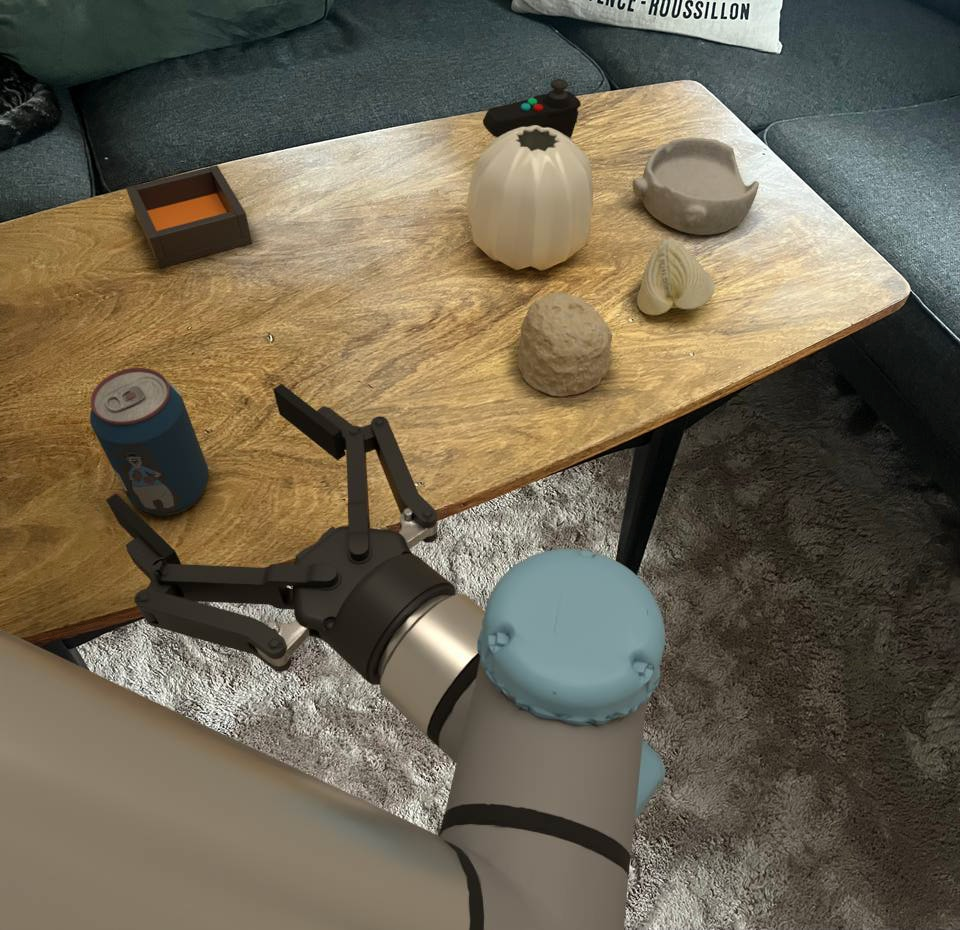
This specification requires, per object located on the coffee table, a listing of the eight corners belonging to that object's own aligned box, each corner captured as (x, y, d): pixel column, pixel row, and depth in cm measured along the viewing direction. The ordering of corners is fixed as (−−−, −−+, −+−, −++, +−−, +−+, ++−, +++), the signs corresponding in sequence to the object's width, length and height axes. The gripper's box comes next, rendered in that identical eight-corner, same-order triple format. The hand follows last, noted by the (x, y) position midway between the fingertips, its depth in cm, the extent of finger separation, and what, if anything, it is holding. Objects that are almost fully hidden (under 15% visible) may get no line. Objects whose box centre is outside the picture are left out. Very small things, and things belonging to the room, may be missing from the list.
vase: (525, 302, 89) (535, 192, 78) (442, 241, 95) (442, 131, 85) (613, 252, 95) (633, 143, 84) (529, 197, 101) (538, 90, 91)
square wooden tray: (159, 268, 91) (149, 238, 88) (136, 217, 96) (125, 187, 93) (252, 243, 94) (245, 212, 91) (224, 195, 100) (217, 164, 97)
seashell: (627, 311, 85) (625, 237, 86) (646, 334, 93) (643, 266, 94) (709, 299, 82) (705, 223, 83) (720, 325, 89) (717, 254, 91)
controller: (578, 162, 106) (588, 86, 98) (492, 184, 103) (496, 107, 95) (562, 146, 109) (570, 70, 101) (477, 167, 105) (479, 90, 97)
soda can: (192, 446, 75) (155, 349, 66) (225, 496, 72) (192, 402, 62) (117, 481, 72) (68, 385, 63) (148, 535, 69) (101, 442, 60)
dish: (699, 162, 107) (709, 125, 103) (774, 217, 100) (788, 181, 96) (609, 193, 102) (616, 155, 98) (682, 254, 95) (692, 216, 91)
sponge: (569, 361, 89) (532, 278, 85) (643, 355, 82) (606, 264, 78) (521, 411, 84) (478, 326, 80) (595, 409, 77) (552, 316, 73)
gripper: (263, 820, 46) (60, 592, 55) (547, 545, 58) (343, 393, 67) (234, 775, 40) (12, 528, 49) (557, 479, 52) (332, 322, 61)
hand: (203, 450), depth 58 cm, fingers open, 13 cm apart
